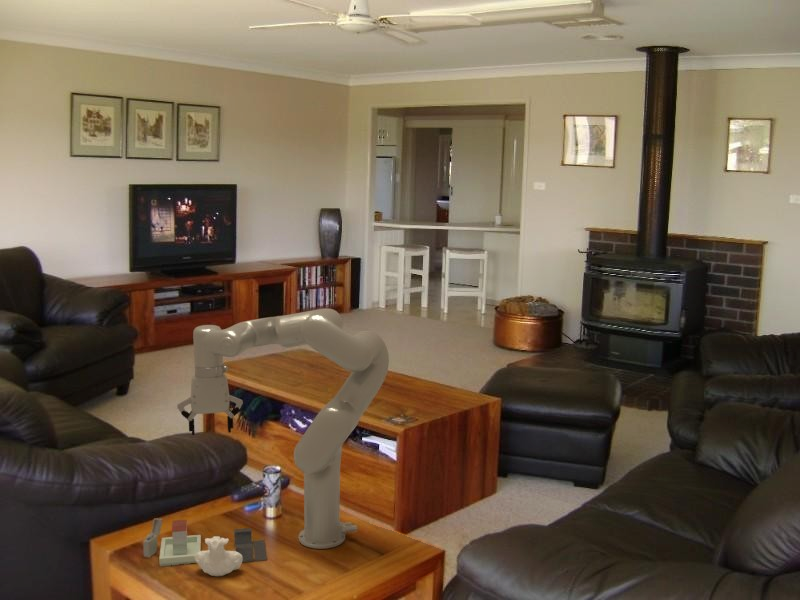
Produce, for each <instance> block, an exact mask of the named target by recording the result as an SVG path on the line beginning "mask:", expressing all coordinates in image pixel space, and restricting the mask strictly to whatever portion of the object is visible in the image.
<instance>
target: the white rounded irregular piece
mask: <svg viewBox="0 0 800 600" xmlns="http://www.w3.org/2000/svg"><path fill="white" fill-rule="evenodd" d="M229 541H230V540H229V538H228V537H227V538H224V537H220V536H218V535H217V536H215V535H214V536H213V537H211V538H207V537H206V538H205V539H204V543H205V544H206V545H207V550H201V551H200V552H198V553H196V554H195V556H194V558H195V560H196V562H197V563H196V564H198V566H199V568H200V569H201V570H202V571H203V572H204V573H205V574H207V575H209V576H211V577H223V576H225V575H228V574H230V573H232V572H233V571H236V570H238V569H239V568H241V566H242V564H243V562H242V561H243V557H242V555H241V554H240V553H238V552H236V551H235V550H226V549H225V546H226V545H227V544H228V543H229Z"/></svg>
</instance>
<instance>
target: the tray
mask: <svg viewBox="0 0 800 600" xmlns="http://www.w3.org/2000/svg"><path fill="white" fill-rule="evenodd" d="M201 537H202V535H201V534H194V535H187V554H185V555H173V538H172V536H169V537H161V543H160V549H159V550H160V551H159V558H158V559H159V560H158V561H159V567H169V566H171V565H172V566H180V565H179V564H184V565H191V564H190V563H196V564H198V563H197V562H196V560H195V558H194V556H195V554H196V553H198V552H200V551H202V550H201V549H202V538H201ZM172 566H171V567H172Z"/></svg>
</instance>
